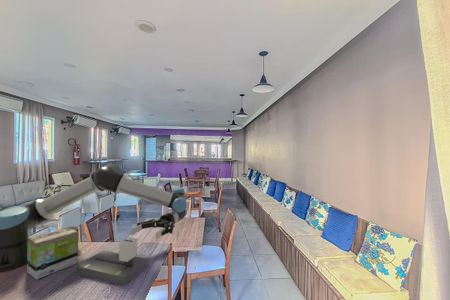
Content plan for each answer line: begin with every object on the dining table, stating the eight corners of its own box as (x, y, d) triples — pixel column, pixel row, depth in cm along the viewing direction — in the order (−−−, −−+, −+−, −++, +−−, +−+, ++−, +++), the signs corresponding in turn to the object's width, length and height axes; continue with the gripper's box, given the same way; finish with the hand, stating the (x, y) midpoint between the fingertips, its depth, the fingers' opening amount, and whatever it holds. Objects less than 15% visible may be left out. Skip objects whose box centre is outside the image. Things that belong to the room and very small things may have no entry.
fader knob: (119, 267, 88) (119, 242, 87) (129, 260, 93) (129, 236, 93) (127, 269, 86) (127, 244, 86) (137, 261, 92) (137, 238, 92)
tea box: (36, 281, 84) (36, 243, 84) (26, 272, 89) (26, 237, 89) (78, 263, 97) (78, 230, 96) (68, 257, 102) (68, 226, 102)
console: (75, 273, 89) (75, 265, 89) (103, 256, 103) (103, 250, 103) (124, 285, 82) (124, 277, 82) (148, 265, 95) (148, 258, 95)
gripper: (189, 229, 116) (167, 246, 96) (149, 223, 124) (121, 238, 103) (189, 215, 116) (167, 229, 96) (149, 210, 123) (122, 222, 103)
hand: (143, 234), depth 99 cm, fingers open, 13 cm apart
